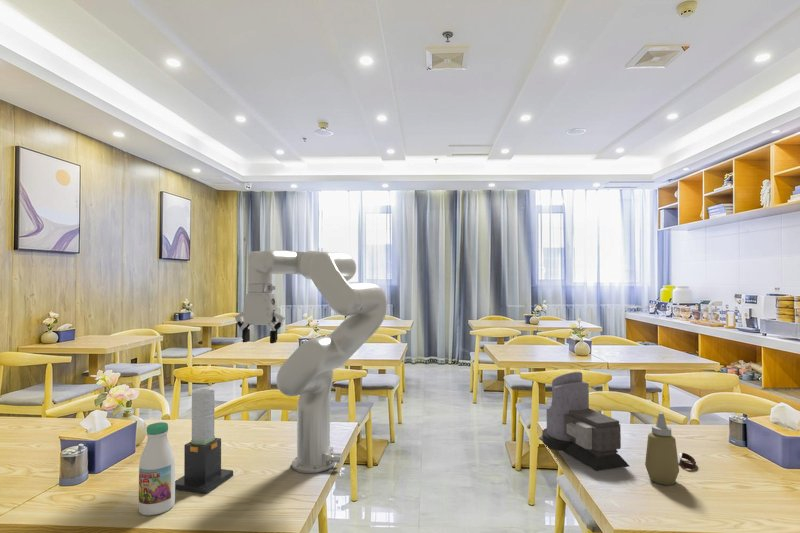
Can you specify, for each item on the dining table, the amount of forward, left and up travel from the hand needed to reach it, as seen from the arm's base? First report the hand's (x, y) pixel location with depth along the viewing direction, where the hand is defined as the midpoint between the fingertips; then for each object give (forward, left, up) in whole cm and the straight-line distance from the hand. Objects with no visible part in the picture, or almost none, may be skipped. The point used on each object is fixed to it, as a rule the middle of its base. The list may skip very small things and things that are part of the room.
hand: (259, 342), depth 146 cm
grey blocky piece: (-99, -25, -35) cm, 108 cm away
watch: (-128, -20, -35) cm, 134 cm away
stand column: (+2, +25, -27) cm, 36 cm away
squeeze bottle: (-118, -7, -35) cm, 123 cm away
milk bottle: (+3, +39, -35) cm, 52 cm away
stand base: (+2, +25, -34) cm, 42 cm away
